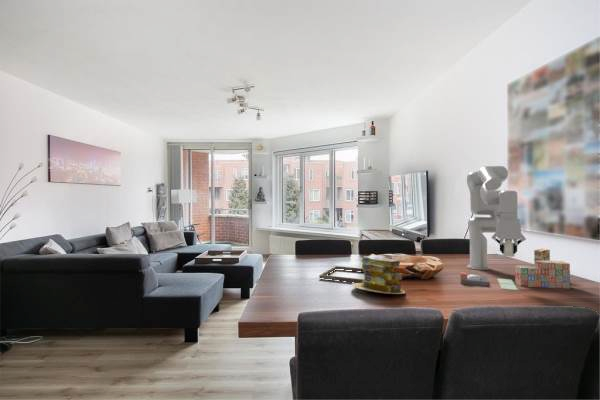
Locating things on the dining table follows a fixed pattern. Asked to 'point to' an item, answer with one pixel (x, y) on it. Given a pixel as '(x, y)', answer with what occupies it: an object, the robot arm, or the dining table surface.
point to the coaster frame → (324, 275)
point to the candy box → (542, 255)
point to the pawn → (508, 248)
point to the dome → (474, 277)
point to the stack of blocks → (544, 274)
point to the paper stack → (380, 275)
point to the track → (507, 284)
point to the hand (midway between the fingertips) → (508, 252)
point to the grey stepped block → (473, 282)
